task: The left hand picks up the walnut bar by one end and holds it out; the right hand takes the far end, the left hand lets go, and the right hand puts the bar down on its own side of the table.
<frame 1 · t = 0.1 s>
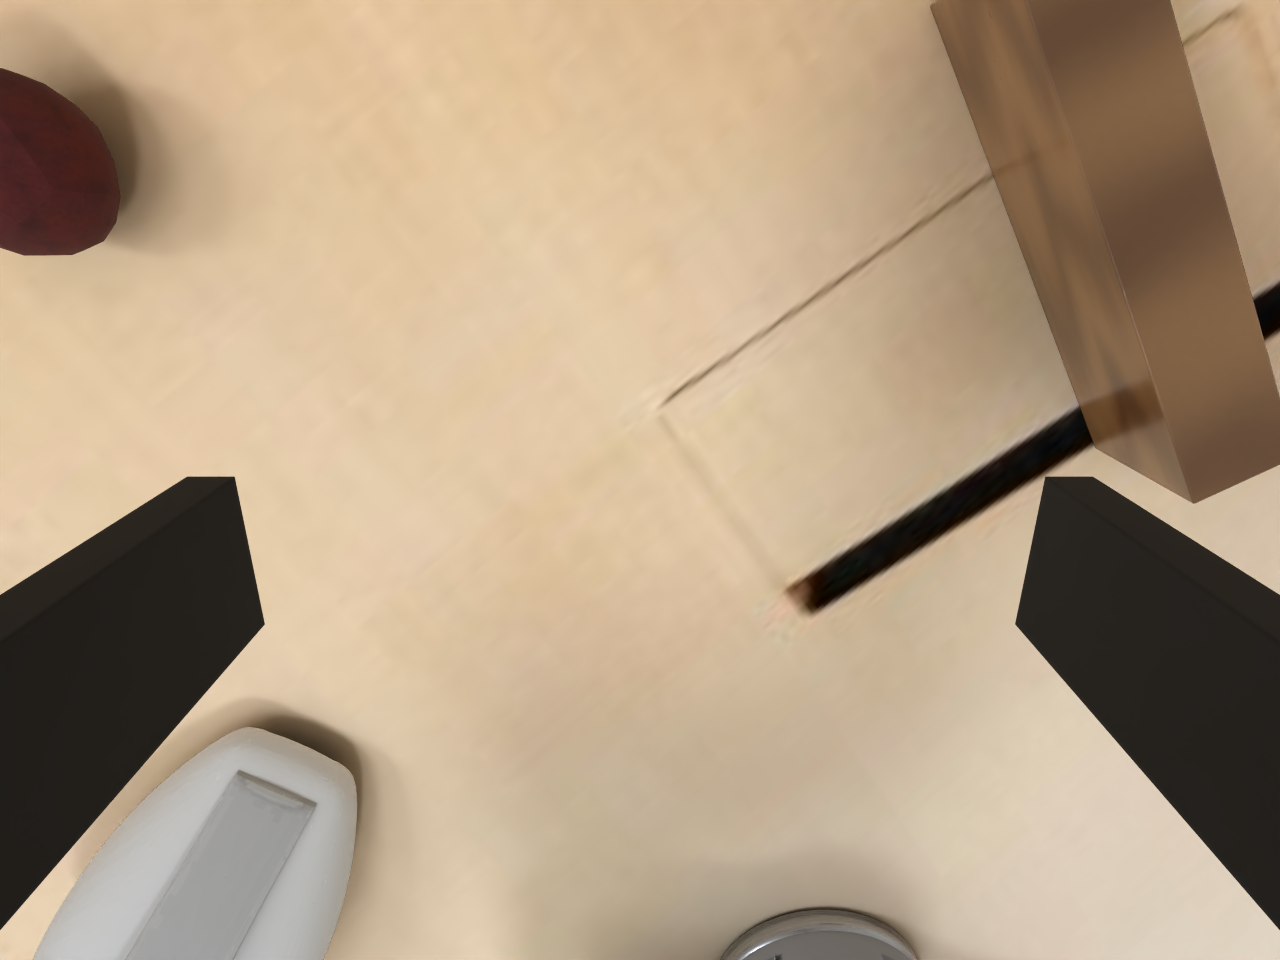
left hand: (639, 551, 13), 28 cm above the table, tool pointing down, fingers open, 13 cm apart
projector: (243, 846, 51), on the table
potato: (77, 171, 36), on the table
bar: (1064, 225, 37), on the table
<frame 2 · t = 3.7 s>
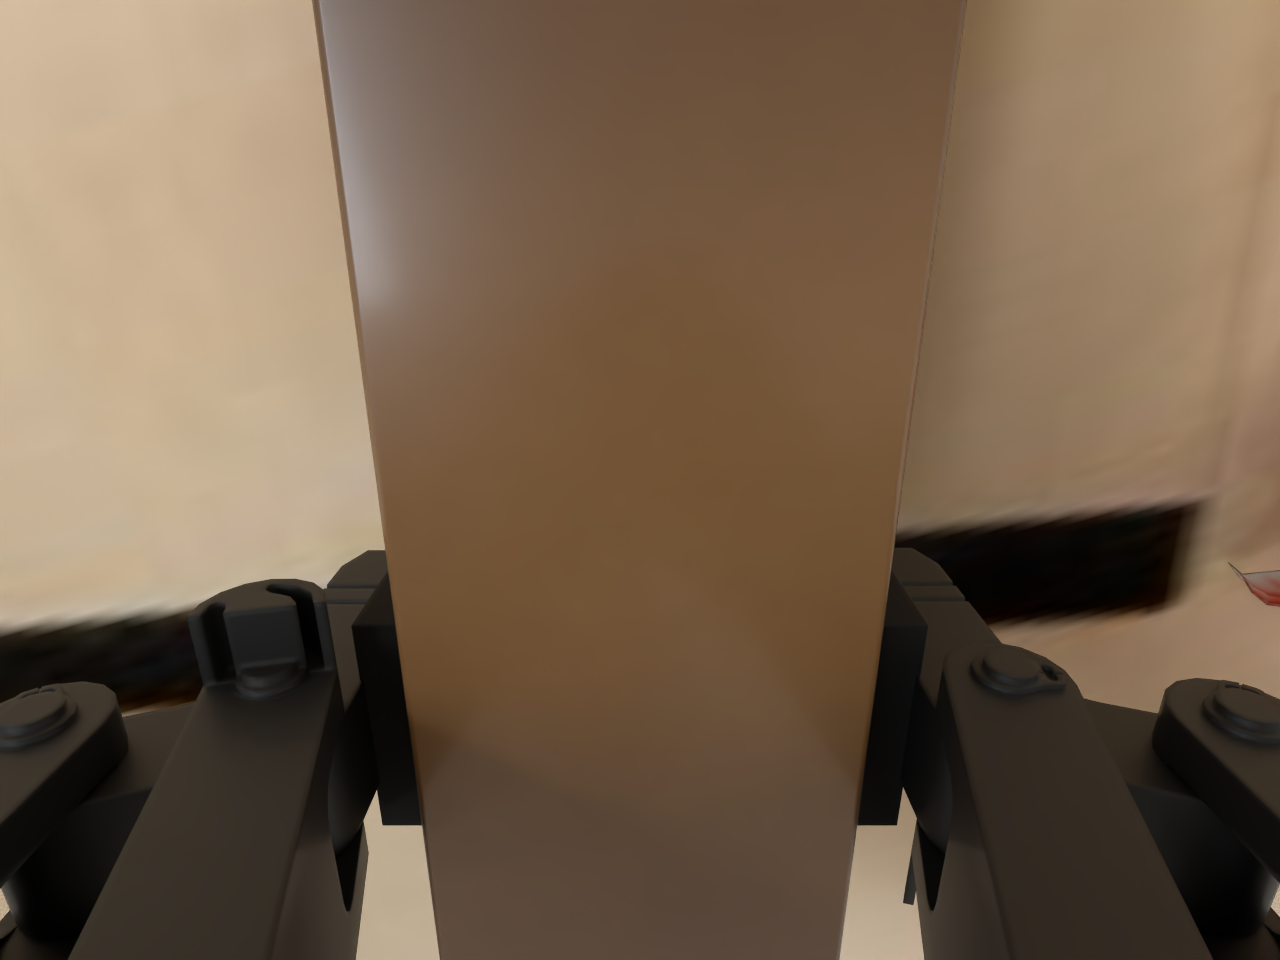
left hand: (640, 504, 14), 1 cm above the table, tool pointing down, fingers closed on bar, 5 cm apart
bar: (639, 65, 12), on the table, touching left hand
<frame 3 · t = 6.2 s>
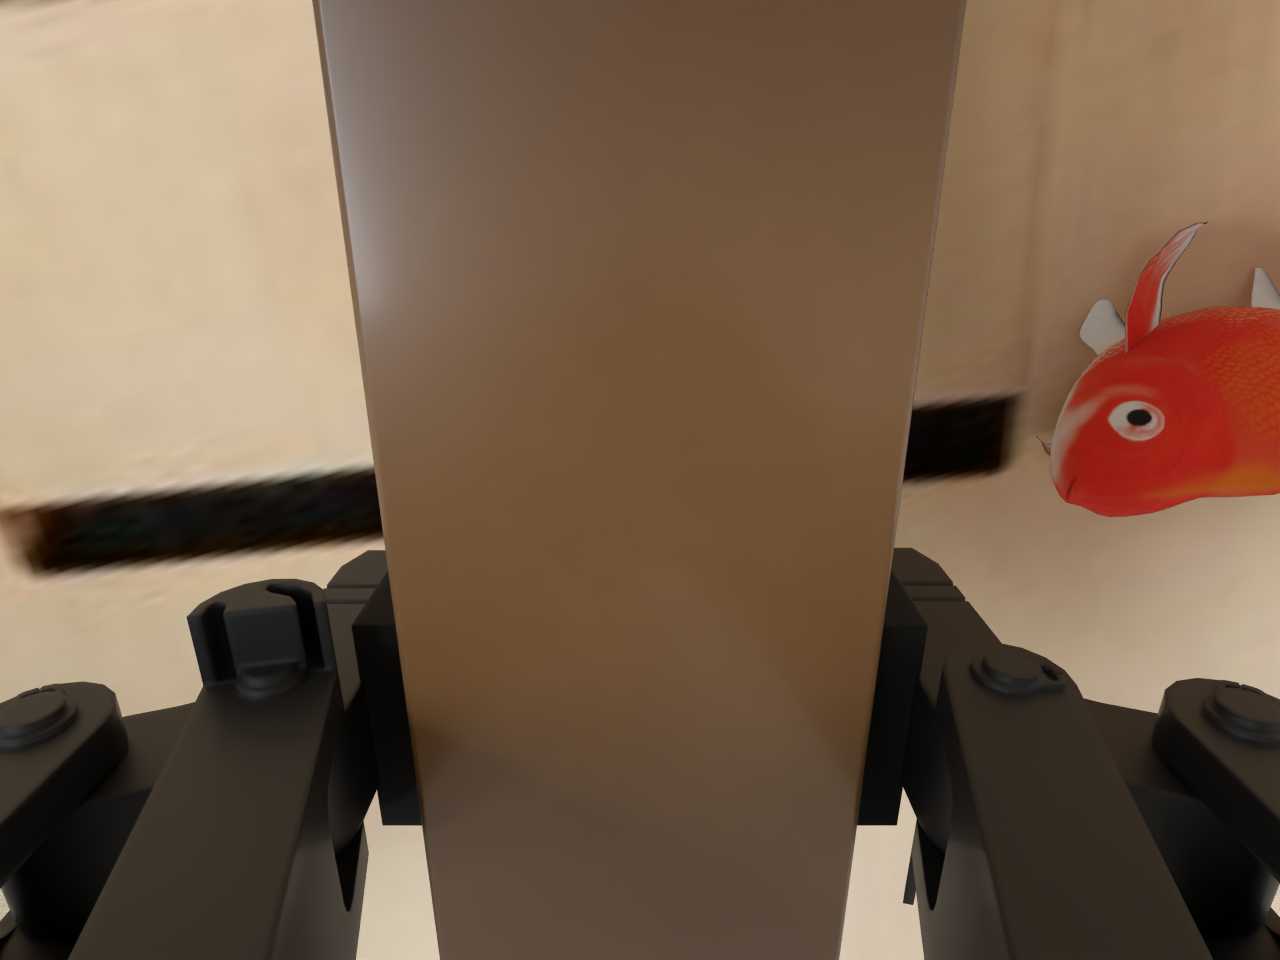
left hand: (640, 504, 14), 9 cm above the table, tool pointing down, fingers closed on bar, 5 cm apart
fish: (1230, 321, 22), on the table
bar: (639, 65, 12), point 8 cm above the table, touching left hand
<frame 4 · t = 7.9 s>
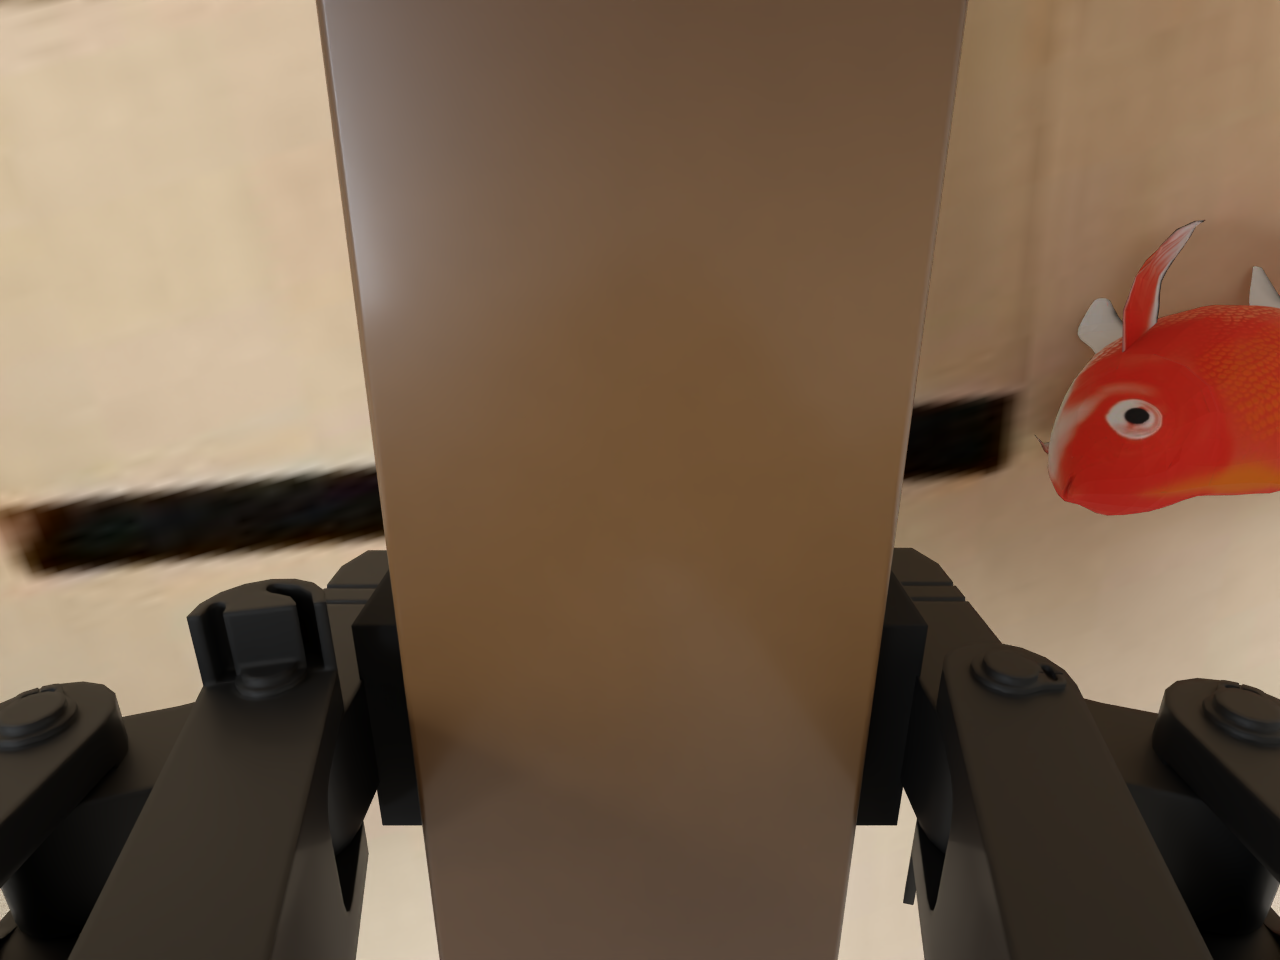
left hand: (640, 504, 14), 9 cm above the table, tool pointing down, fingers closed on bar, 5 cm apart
fish: (1228, 319, 22), on the table
bar: (641, 65, 12), point 8 cm above the table, touching left hand, right hand
when the left hand's fingers open (9 cm above the table, at t = 8.6 s): bar stays where it is, held by the right hand.
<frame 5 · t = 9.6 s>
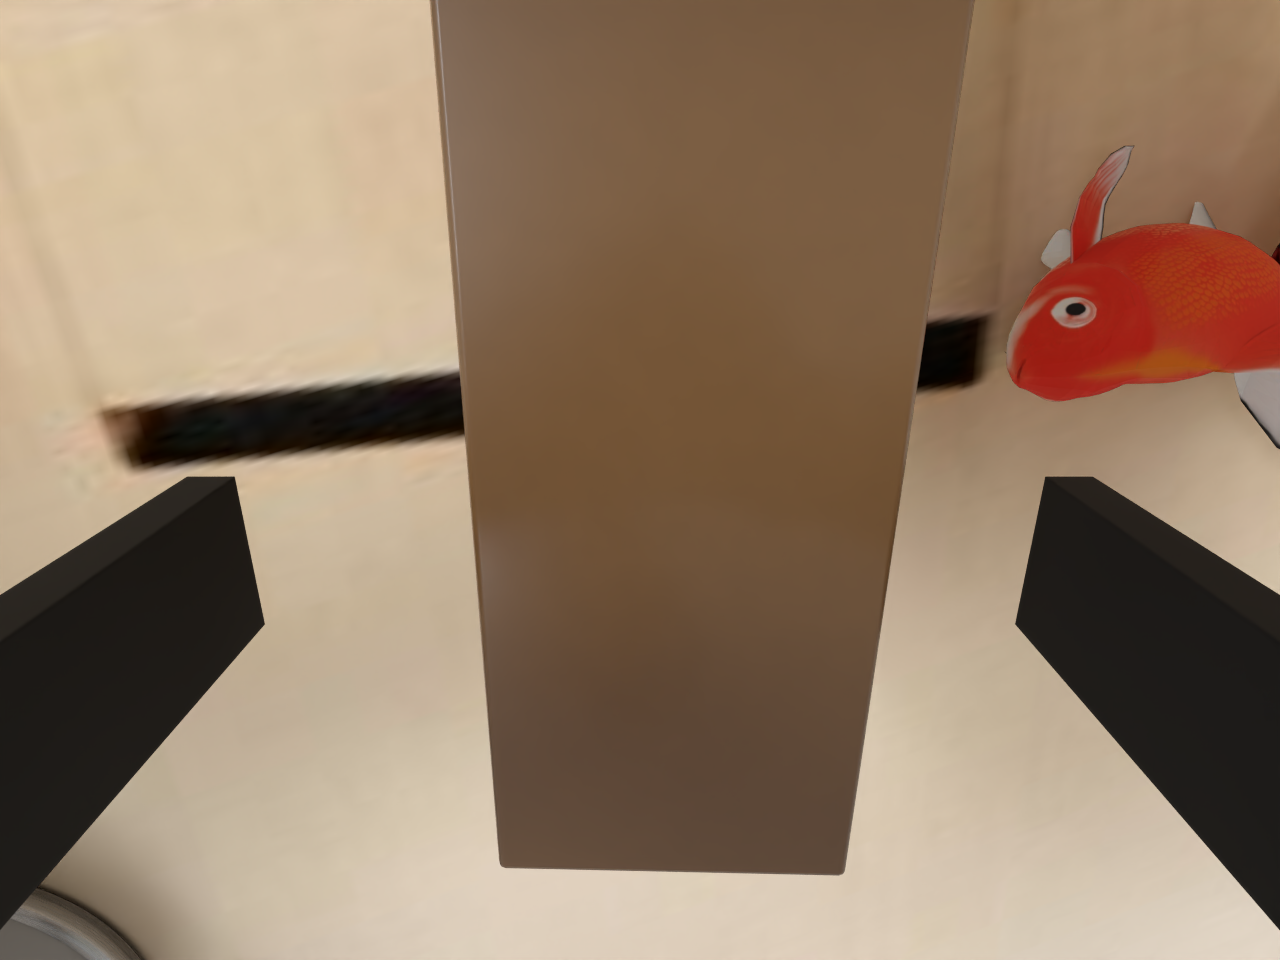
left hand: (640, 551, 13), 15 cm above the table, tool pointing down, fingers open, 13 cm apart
fish: (1174, 250, 25), on the table
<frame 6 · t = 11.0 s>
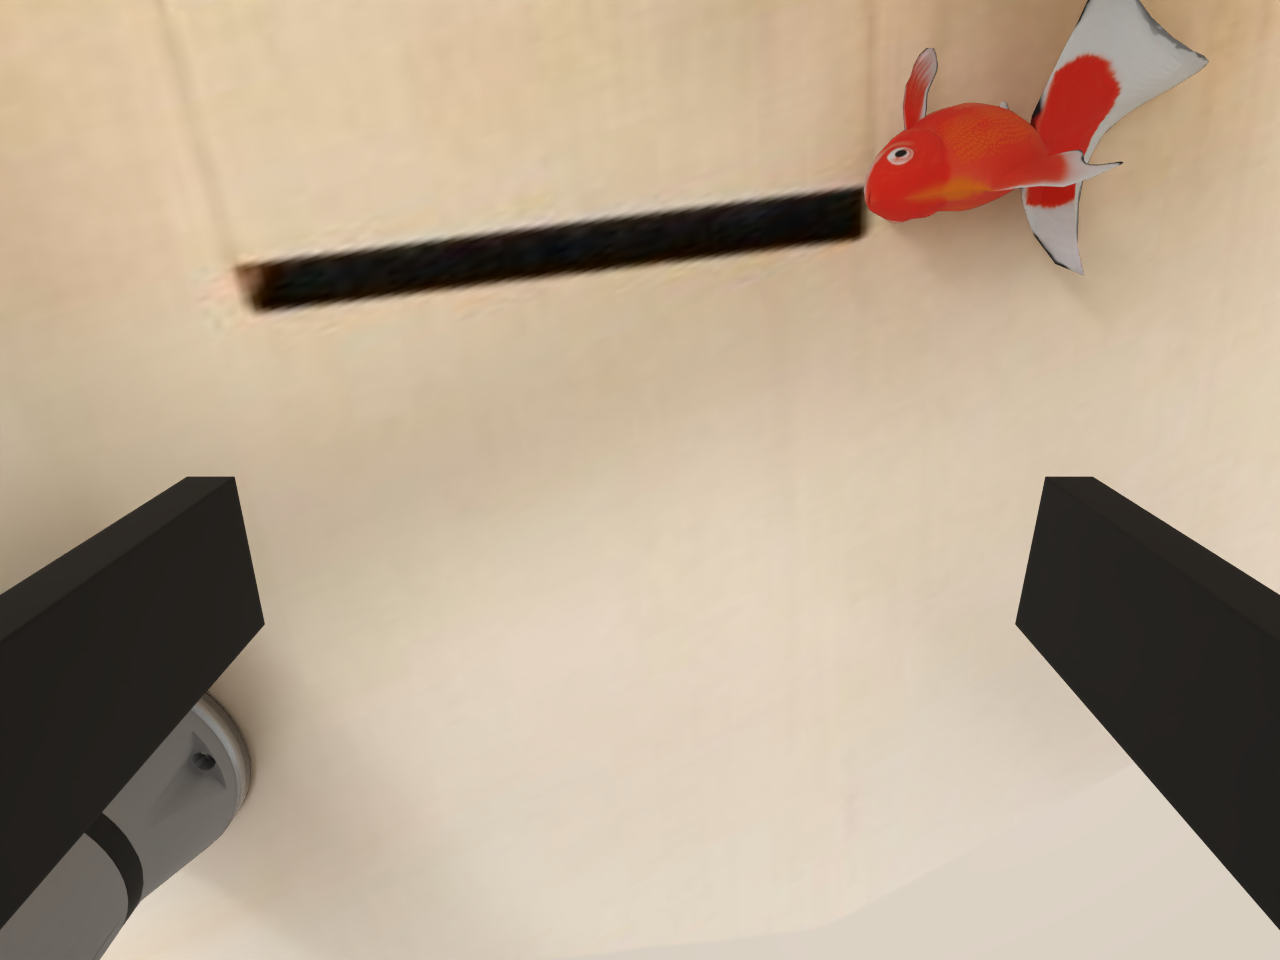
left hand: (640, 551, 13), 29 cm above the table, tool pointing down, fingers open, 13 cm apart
fish: (992, 137, 36), on the table
when the right hand's fingers open (4 cm above the table, at t = 14.4 s): bar drops 1 cm, on the table.
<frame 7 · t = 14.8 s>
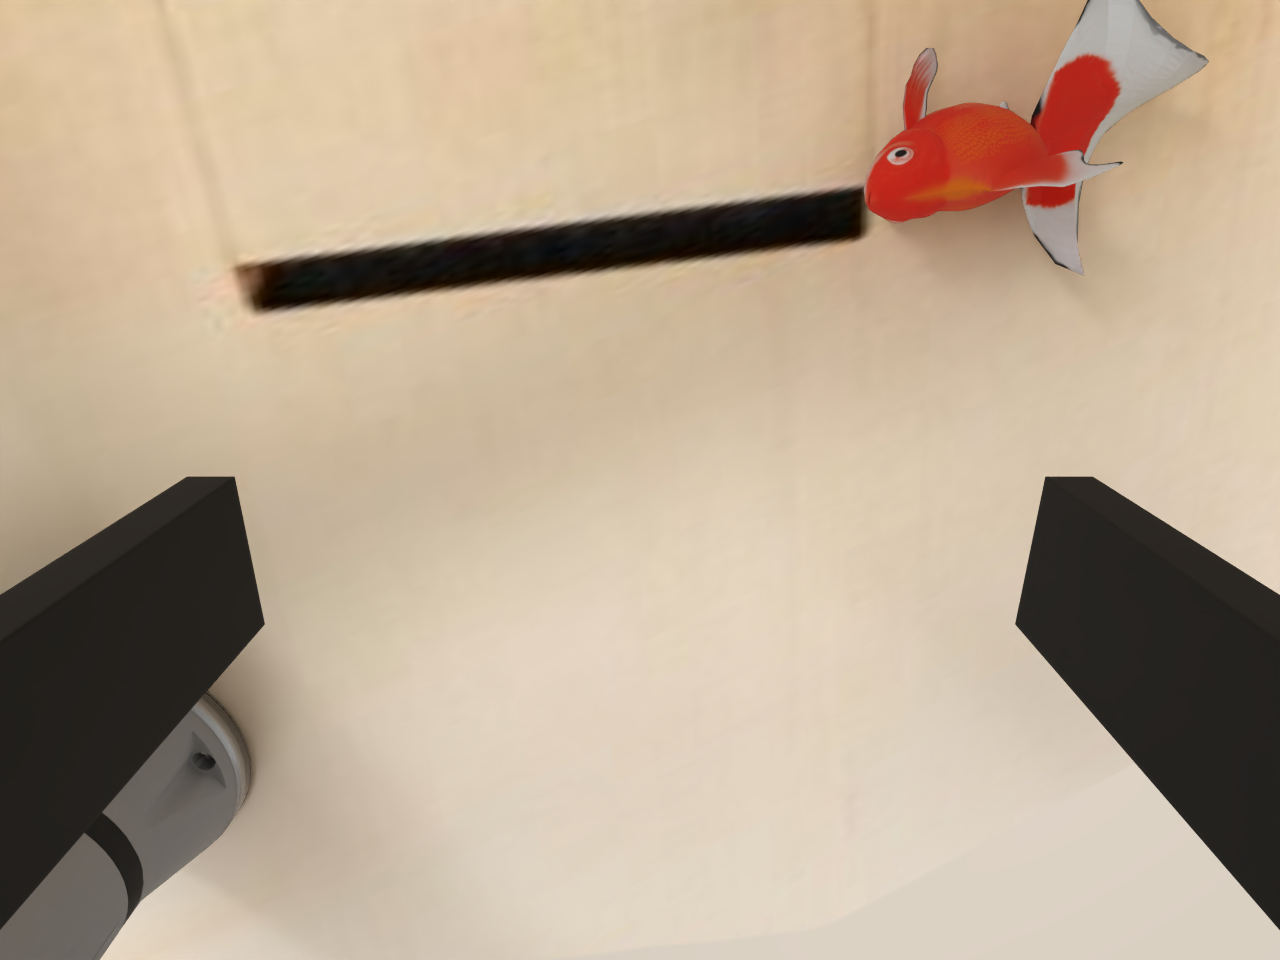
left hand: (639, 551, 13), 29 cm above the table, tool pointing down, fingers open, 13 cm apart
fish: (992, 137, 36), on the table
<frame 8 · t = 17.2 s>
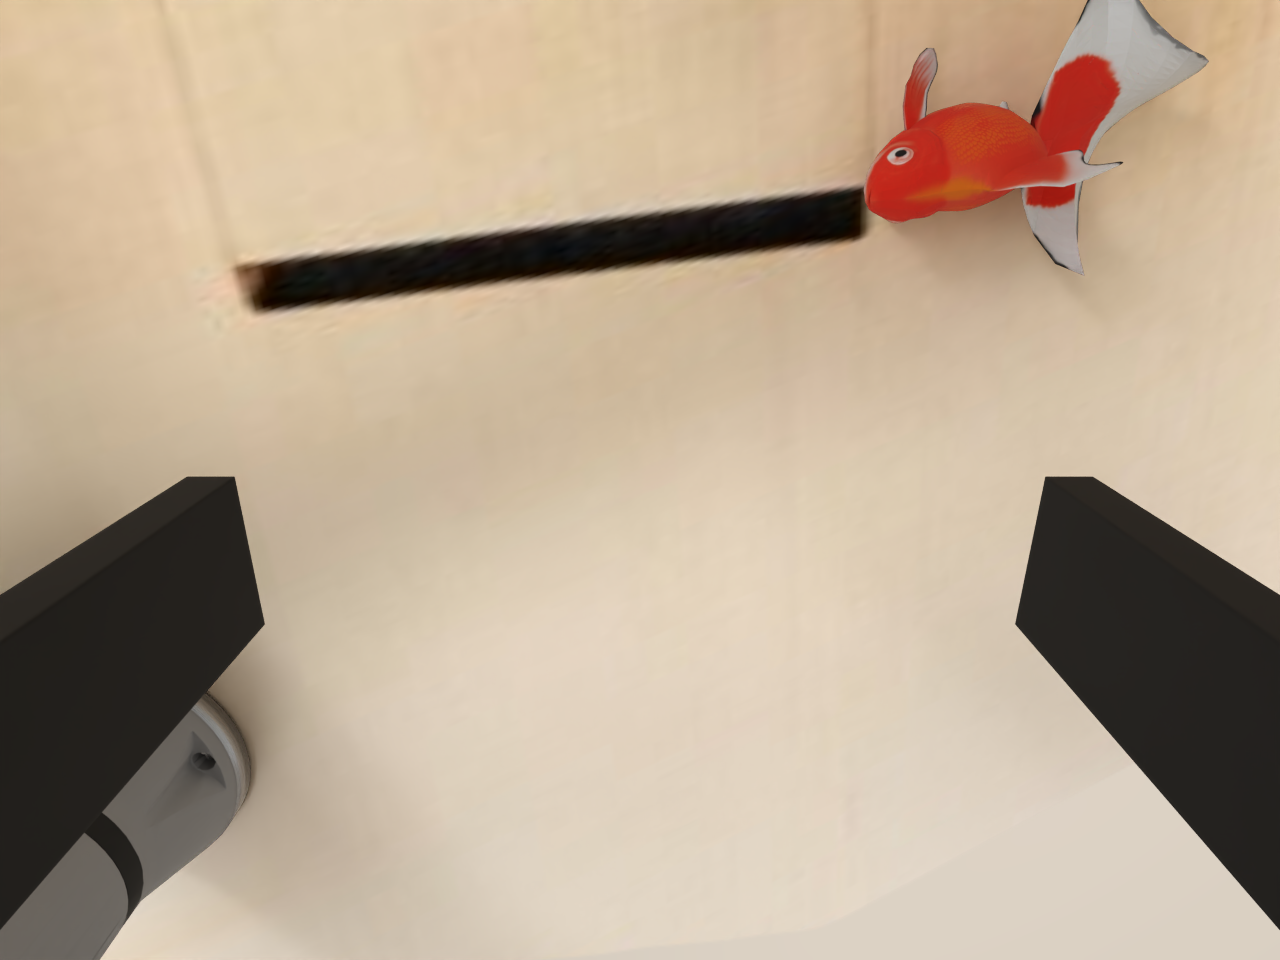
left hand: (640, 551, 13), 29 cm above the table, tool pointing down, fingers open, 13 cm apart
fish: (992, 137, 36), on the table
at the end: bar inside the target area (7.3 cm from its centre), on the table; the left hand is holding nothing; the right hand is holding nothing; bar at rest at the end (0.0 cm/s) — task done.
